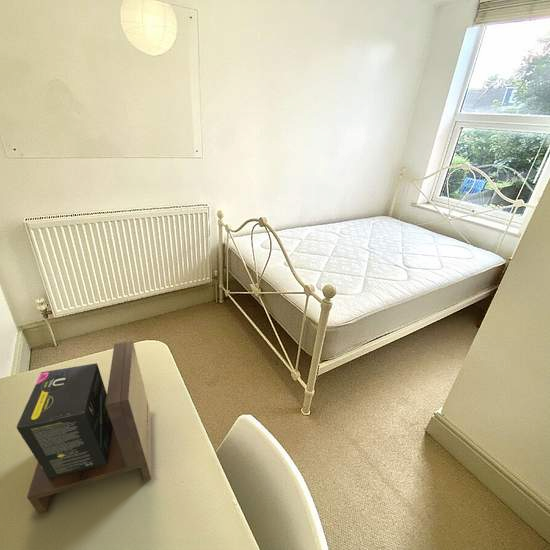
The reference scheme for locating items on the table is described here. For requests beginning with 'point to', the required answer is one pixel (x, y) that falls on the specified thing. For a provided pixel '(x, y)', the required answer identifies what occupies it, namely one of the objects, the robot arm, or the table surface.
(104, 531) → the table surface
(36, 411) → the tampon box
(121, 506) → the table surface
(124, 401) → the wooden display stand
